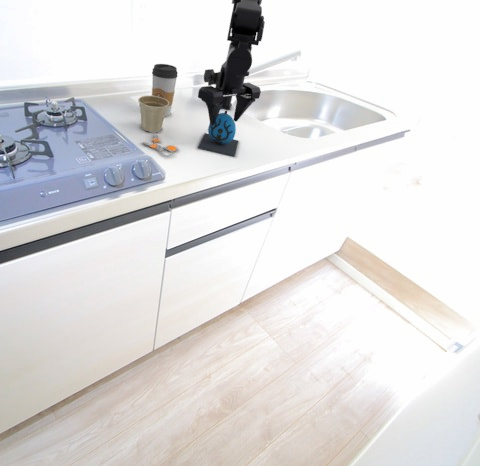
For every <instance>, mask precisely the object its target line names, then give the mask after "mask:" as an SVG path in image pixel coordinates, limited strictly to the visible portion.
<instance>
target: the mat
mask: <svg viewBox="0 0 480 466" xmlns="http://www.w3.org/2000/svg"><path fill="white" fill-rule="evenodd" d="M238 145H239V140H238V139H234V138H233V140H232V141H231V142H229V143H226V144H219V143H216V142H215V141H213V140H212V139H211V138H210V136H209V134H208V132H207V133H206V132H205V133H204V134H203V137H202V138H201V140H200V143H199V144H198V146H197V149H198V150H202V151H206V152H207V151H208V152H212V153H216V154H221V155H224V156H229V157H236V153H237V148H238Z"/></svg>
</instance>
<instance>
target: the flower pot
mask: <svg viewBox="0 0 480 466" xmlns="http://www.w3.org/2000/svg"><path fill="white" fill-rule="evenodd" d="M137 102H138V103H139V108H140V121H141V129H142V130H143V131H147V132H149V133H158V132H160V131H161V130H162V127H163V124H164V120H165V117H164V116H165V112H166V110H167V107H168V106H169V101H168V100H166V99H164V98H161V97H158V96H152V95H142V96H140V97H138V98H137Z"/></svg>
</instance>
